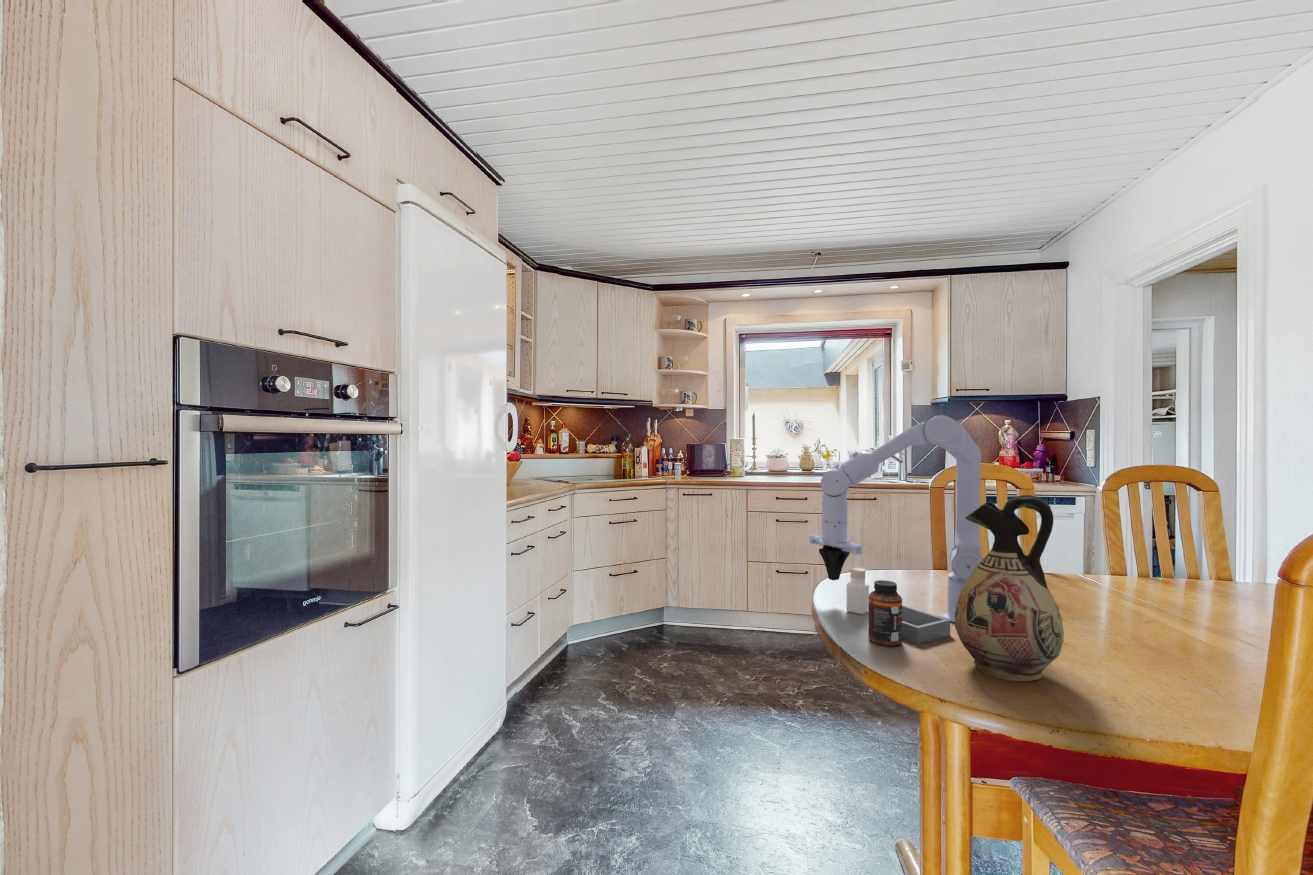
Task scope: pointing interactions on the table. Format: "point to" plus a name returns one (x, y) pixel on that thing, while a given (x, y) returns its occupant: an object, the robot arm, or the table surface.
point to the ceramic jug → (1010, 598)
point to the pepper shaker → (857, 592)
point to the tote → (923, 625)
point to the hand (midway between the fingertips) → (833, 579)
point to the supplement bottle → (885, 614)
